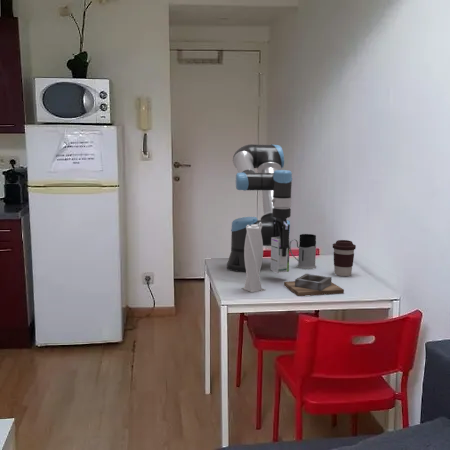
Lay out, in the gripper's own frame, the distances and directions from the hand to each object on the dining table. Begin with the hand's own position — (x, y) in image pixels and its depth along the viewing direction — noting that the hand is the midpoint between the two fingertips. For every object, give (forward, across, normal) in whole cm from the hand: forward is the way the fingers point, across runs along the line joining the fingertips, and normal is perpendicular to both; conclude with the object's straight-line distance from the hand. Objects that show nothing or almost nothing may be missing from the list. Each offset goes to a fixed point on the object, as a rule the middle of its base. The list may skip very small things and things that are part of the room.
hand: (279, 261), depth 241 cm
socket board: (+8, +17, +8) cm, 20 cm away
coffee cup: (+8, -3, +31) cm, 32 cm away
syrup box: (+4, 0, 0) cm, 4 cm away
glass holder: (+9, -19, +18) cm, 28 cm away
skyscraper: (+8, +13, -15) cm, 22 cm away
